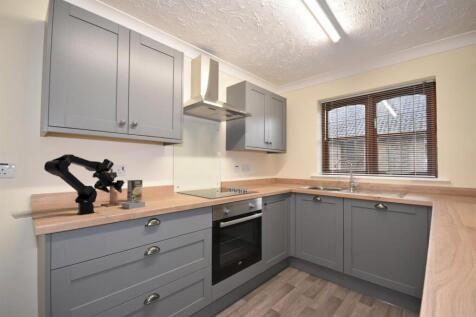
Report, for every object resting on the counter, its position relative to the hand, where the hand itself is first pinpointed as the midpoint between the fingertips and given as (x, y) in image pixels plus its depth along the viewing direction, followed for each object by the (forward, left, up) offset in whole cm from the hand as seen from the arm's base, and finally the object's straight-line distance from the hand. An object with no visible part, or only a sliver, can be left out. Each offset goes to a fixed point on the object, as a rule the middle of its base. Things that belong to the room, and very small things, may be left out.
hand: (115, 192), depth 152 cm
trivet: (-1, -1, -9) cm, 9 cm away
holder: (+3, -21, -9) cm, 23 cm away
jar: (-1, -1, -8) cm, 8 cm away
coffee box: (+19, +11, -9) cm, 24 cm away
